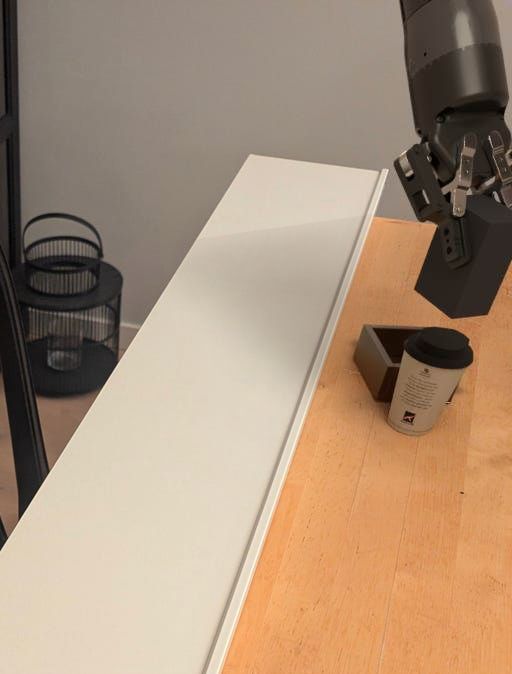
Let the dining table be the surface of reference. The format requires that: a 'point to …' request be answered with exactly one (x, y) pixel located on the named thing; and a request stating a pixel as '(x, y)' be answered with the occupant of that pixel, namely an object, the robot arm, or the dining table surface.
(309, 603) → the dining table surface
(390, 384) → the open box
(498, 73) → the robot arm
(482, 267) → the black rectangular block
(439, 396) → the coffee cup
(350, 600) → the dining table surface
